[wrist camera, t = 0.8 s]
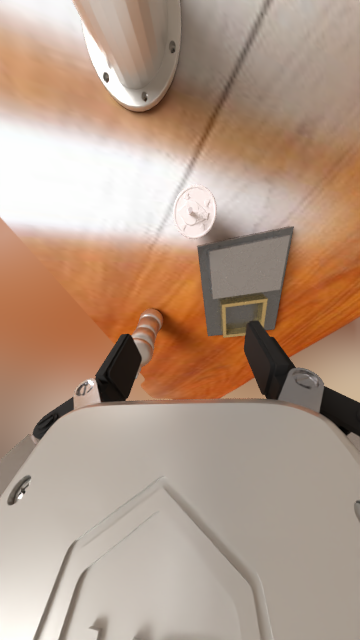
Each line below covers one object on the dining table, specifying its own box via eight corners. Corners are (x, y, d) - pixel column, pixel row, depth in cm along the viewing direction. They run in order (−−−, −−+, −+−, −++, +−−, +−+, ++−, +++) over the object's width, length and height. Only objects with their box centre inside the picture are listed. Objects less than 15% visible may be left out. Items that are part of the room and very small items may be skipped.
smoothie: (180, 195, 27) (170, 168, 15) (213, 200, 27) (230, 177, 15) (176, 234, 30) (166, 237, 18) (206, 238, 30) (214, 244, 19)
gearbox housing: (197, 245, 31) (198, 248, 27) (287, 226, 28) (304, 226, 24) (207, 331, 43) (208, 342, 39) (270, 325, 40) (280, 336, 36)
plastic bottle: (160, 304, 40) (136, 358, 23) (167, 323, 43) (150, 384, 26) (139, 308, 41) (102, 362, 24) (147, 326, 44) (119, 386, 27)
